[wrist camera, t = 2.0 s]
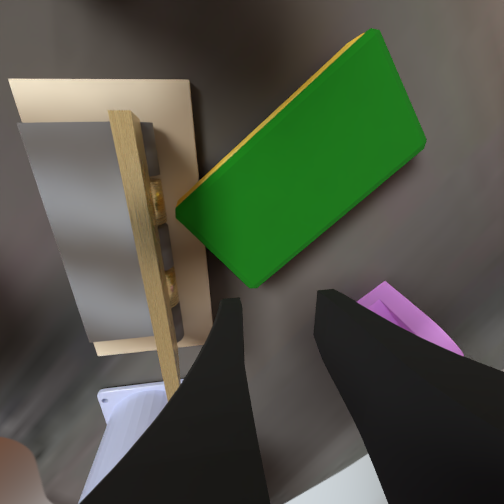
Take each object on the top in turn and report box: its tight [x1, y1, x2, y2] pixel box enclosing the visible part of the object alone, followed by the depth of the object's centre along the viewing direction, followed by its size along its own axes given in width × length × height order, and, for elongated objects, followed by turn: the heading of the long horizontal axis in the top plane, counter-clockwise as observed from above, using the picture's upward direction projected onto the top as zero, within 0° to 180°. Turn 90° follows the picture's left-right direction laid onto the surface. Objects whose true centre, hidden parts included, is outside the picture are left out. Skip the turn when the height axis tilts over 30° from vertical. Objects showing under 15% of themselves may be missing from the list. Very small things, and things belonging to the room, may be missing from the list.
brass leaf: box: [107, 110, 181, 401], centre depth 14 cm, size 14×7×2 cm
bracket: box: [357, 281, 464, 356], centre depth 22 cm, size 13×6×7 cm, turn 40°
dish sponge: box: [175, 28, 427, 288], centre depth 16 cm, size 7×14×2 cm, turn 130°
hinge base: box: [8, 79, 213, 356], centre depth 17 cm, size 18×9×3 cm, turn 1°
